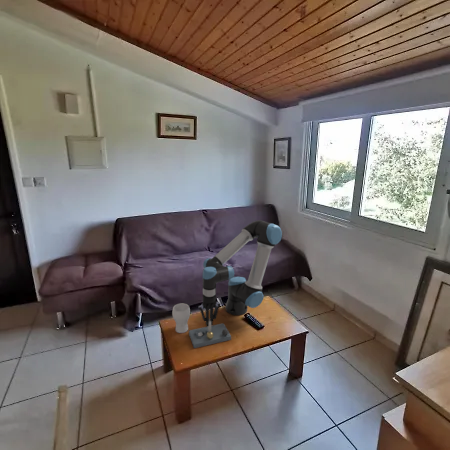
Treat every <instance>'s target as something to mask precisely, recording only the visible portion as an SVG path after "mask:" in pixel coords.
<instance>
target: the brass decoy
mask: <svg viewBox="0 0 450 450" xmlns="http://www.w3.org/2000/svg"><path fill="white" fill-rule="evenodd" d="M213 336H214V334H213V332H211V331H209V332H208V333H207V338H208V339H212V338H213Z"/></svg>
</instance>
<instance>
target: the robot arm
mask: <svg viewBox="0 0 450 450" xmlns="http://www.w3.org/2000/svg"><path fill="white" fill-rule="evenodd" d="M282 233H283V232H282V229H281V227H280V226H279V225H277V224H274V223H271V222H268V221H264V220H261V219H260V220H254V221H252V222H251V223H248V224H247V225H246V226H244V227H243V228H242V229H241V232H240V233H239V234H238V235H236V237H234V238H233V239H232V240H231V241H230V242H229V243H227V244H226V246H224V247H223V248H222V249H221V250H219V252H217V253H216V254H215V255H214V256H213V257H212V258H210V257H209V258H206V259H204V261H203V263H202V266H203V270H202V302H201V305H198V306H197V307H198V309H199V311H200V314H201V317H202V320H203V322H205V325H206V327H208V331H211V326H213V325H214V320H216V319H217V315H218V312H219V309H220V306H221V303H220V302H219V301H217V284H218V283H222V282H225V281H228V284H227V285H228V290H227V293H228V296H227V298H228V299H227V301H226V304H225V311H226V313H228V314H230V315H232V316H242V315H245V314H246V313H247V312H248V308H251V309H254V308H257V307H259V306H260V305H261V304H262V303H263V301H264V294H263V286H262V282H263V279H264V275H265V273H266V268H267V266H268V261H269V258H270V255H271V252H272V249H273V248H275V246H276V245H278V244H279V243H280V242H281V240H282V236H283V234H282ZM254 239H256V243H257V249H256V251H255V255H254V258H253V262H252V266H251V268H250V272H249V275H248V279H246V277H243V276H235V269H234V268H233V266H232V265H226V266H224V265H225V263H228V261H229V260H230V259H231V258H232V257H233V256H235V254H237V252H239V251H240V250H241V249H242V248H243V247H245V246H246V244H247V243H248V242H250V241H251V242H252V241H253V240H254ZM203 309H205V312H204V310H203Z"/></svg>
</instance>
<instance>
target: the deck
mask: <svg viewBox="0 0 450 450" xmlns="http://www.w3.org/2000/svg"><path fill="white" fill-rule="evenodd" d="M224 329H226V330H227V331H228V334H227V335H226V336H224V335H223V334H222V331H223V330H224ZM199 332H201V333H203V336H201V337H200V336H198V333H199ZM208 332H209V331H208V326H204V327H199V328H194V329H190V330H189V329H188V335H189V336H188V337H189V339H190V341H191V344H192V347H193V349H197V348H198V349H199V348H202V347H205V346H210V345H213V344H219V343H222V342H223V343H224V342H227V341H232V335H231V334H230V331H229V329H228V328H227V327H226V325H225V323H224V322H222V323H219V324H218V323H217V324H213V325H211V332H213V334H214V336H213V338H212V339H208V338H207V333H208Z"/></svg>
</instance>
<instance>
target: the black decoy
mask: <svg viewBox="0 0 450 450" xmlns="http://www.w3.org/2000/svg"><path fill="white" fill-rule="evenodd" d="M227 330H228V329H227ZM227 330H226V329H224V330H223V331H222V334H223V335H224V336H226V335H227V334H228V332H229V330H228V331H227Z"/></svg>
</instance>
